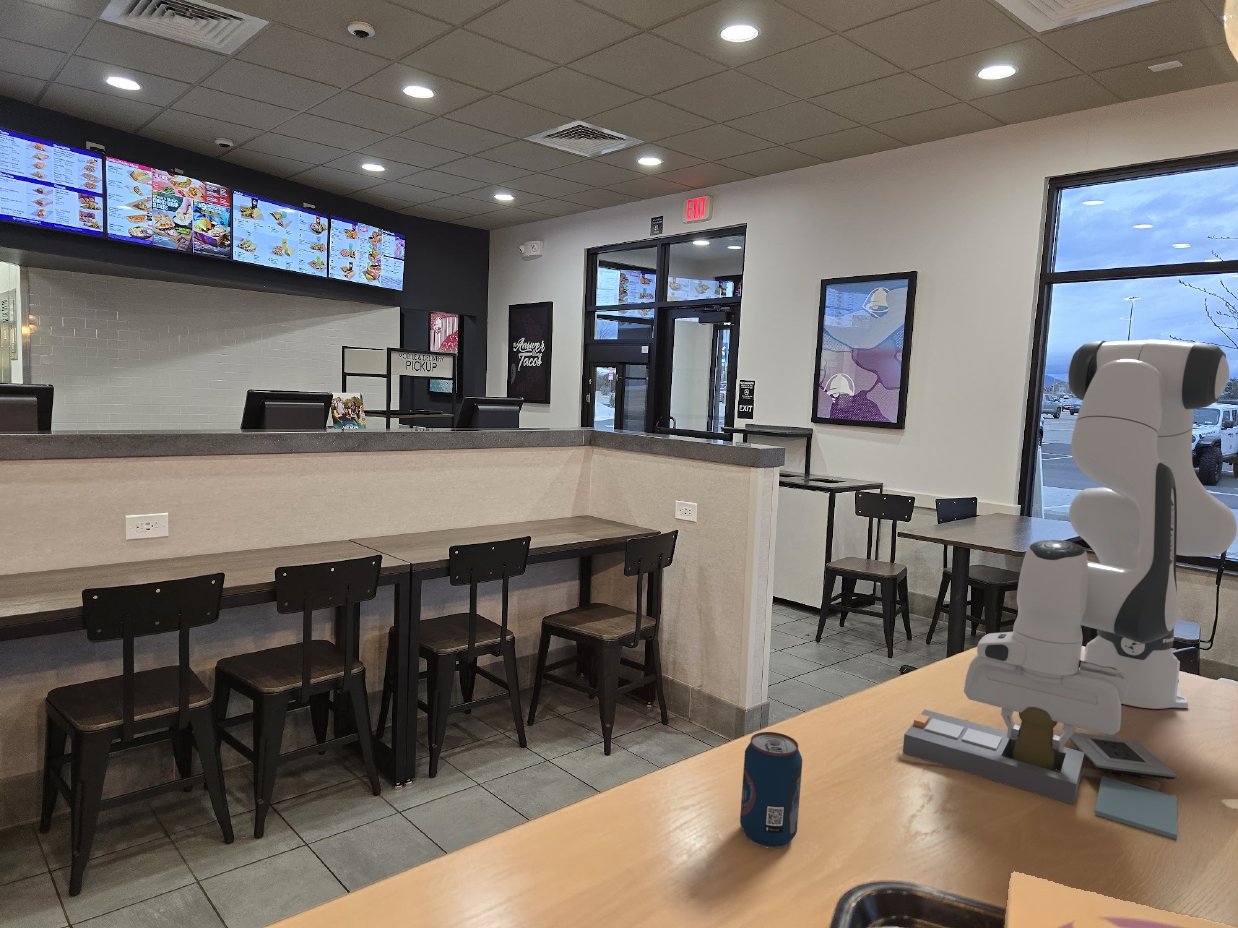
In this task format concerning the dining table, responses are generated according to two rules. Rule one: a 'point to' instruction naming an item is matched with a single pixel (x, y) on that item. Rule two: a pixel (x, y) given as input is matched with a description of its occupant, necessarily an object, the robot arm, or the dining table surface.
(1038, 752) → the cork
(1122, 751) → the grey picture frame
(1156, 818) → the rubber mat
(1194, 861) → the dining table surface
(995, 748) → the grey slotted tray
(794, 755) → the soda can
